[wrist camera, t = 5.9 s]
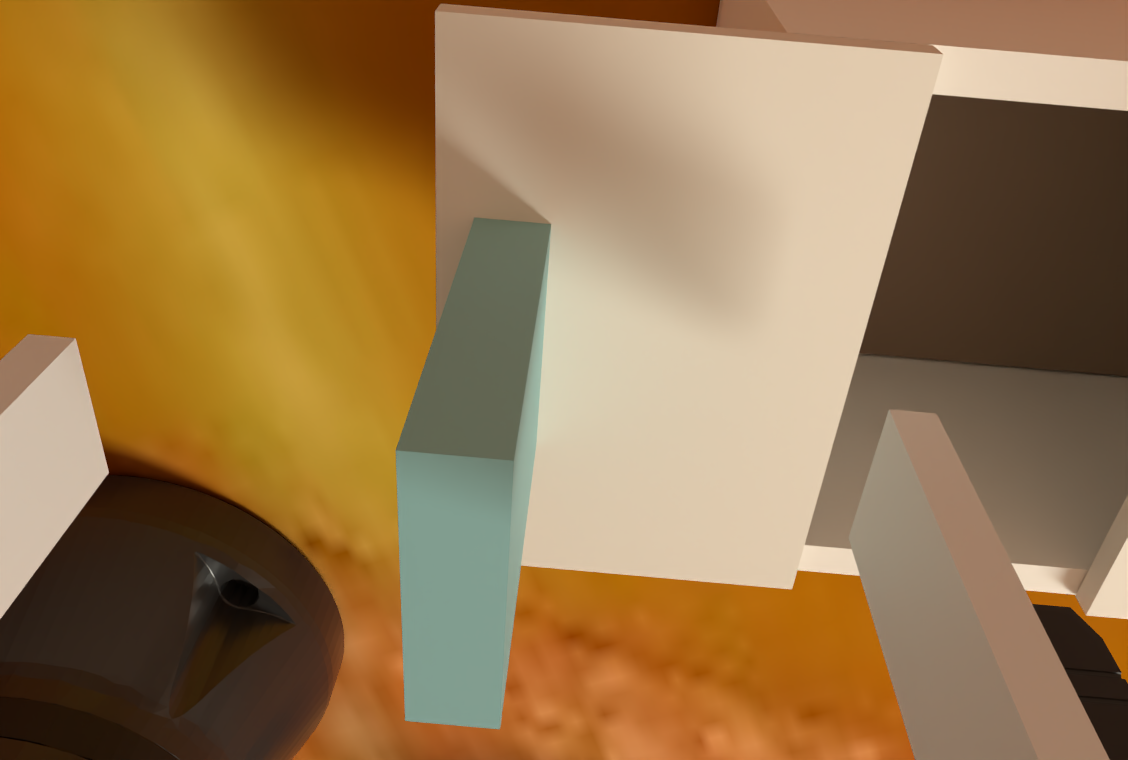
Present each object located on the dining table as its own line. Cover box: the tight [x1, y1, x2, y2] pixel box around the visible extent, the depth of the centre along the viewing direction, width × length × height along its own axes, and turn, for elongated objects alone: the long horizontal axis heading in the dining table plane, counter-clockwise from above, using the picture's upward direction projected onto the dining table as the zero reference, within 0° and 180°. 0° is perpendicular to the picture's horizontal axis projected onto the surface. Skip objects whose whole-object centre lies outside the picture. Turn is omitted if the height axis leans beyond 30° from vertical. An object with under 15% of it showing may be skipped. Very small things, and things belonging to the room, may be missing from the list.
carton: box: [716, 0, 1128, 595], centre depth 23 cm, size 18×12×10 cm, turn 86°
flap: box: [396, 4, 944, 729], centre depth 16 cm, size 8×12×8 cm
